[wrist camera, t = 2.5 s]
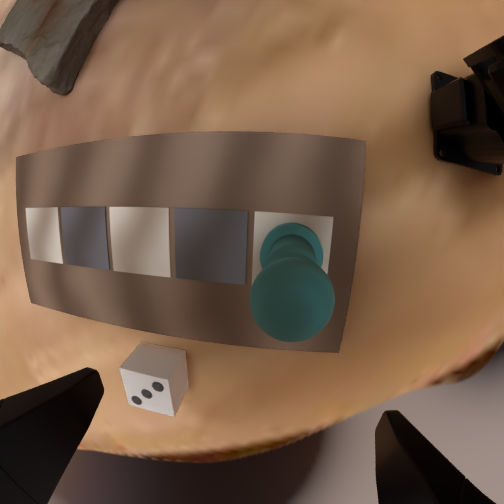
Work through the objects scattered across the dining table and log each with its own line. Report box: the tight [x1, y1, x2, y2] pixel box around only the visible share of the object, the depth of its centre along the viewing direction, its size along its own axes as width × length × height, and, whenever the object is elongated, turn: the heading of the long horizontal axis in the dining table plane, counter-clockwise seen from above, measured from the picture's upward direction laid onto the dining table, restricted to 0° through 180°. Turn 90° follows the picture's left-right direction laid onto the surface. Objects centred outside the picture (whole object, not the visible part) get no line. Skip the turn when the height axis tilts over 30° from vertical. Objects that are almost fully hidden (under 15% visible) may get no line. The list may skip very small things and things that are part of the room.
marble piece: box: [0, 0, 117, 95], centre depth 13 cm, size 17×15×4 cm
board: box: [16, 132, 366, 353], centre depth 19 cm, size 28×14×1 cm, turn 87°
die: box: [120, 342, 189, 417], centre depth 21 cm, size 4×4×4 cm
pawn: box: [249, 223, 335, 342], centre depth 13 cm, size 4×4×8 cm
